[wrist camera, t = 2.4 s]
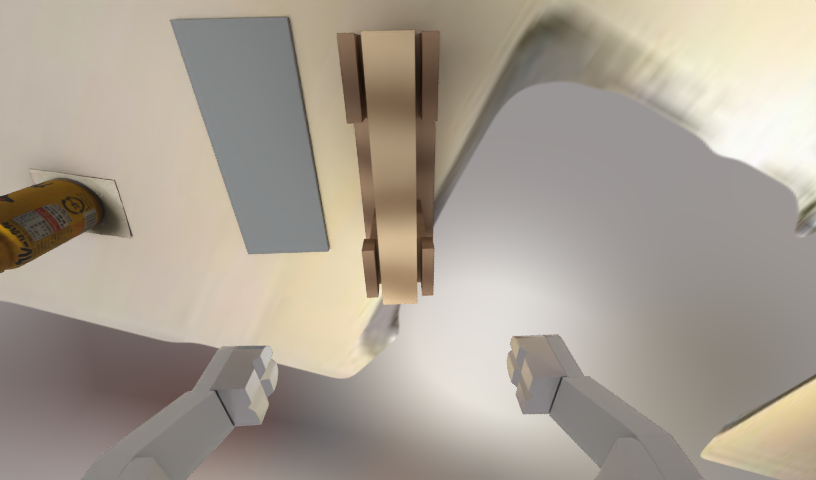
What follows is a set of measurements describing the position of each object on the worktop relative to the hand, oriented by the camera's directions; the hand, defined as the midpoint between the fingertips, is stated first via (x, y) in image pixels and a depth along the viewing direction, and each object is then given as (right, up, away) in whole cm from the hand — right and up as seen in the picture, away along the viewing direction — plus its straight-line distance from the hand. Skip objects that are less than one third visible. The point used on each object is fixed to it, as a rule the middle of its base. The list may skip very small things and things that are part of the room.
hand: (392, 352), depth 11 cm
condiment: (-37, +8, +25) cm, 45 cm away
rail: (0, +8, +13) cm, 15 cm away
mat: (-15, +13, +23) cm, 30 cm away
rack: (-1, +13, +23) cm, 27 cm away
